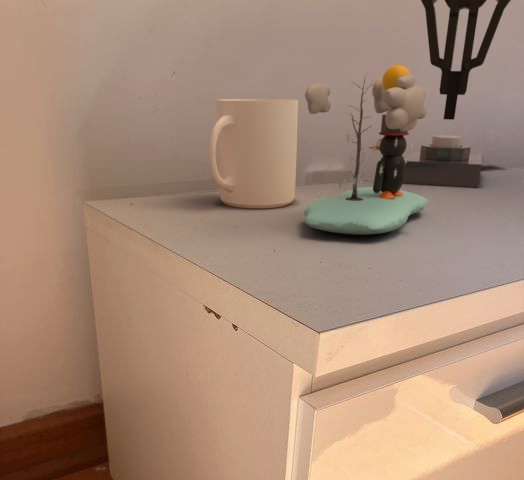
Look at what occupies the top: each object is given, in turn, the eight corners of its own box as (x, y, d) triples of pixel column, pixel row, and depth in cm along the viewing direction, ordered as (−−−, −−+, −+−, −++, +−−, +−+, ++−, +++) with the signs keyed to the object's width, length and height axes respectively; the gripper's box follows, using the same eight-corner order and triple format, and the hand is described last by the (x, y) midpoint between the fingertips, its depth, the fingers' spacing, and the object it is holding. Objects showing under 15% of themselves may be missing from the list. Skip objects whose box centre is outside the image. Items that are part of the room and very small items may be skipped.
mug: (307, 199, 73) (311, 100, 68) (261, 216, 63) (262, 102, 58) (244, 192, 77) (243, 98, 72) (192, 207, 68) (187, 100, 63)
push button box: (478, 175, 94) (483, 143, 92) (478, 187, 83) (484, 151, 81) (410, 171, 97) (413, 140, 95) (401, 183, 86) (405, 148, 84)
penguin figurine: (355, 201, 72) (366, 67, 65) (440, 211, 67) (461, 67, 60) (278, 233, 56) (282, 61, 50) (381, 249, 51) (400, 60, 45)
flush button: (460, 147, 89) (462, 135, 88) (460, 150, 85) (461, 138, 85) (431, 146, 90) (433, 134, 90) (429, 149, 87) (431, 137, 86)
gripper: (423, -75, 75) (402, 118, 85) (530, -82, 71) (495, 121, 81) (427, -62, 81) (407, 116, 91) (526, -68, 77) (494, 119, 87)
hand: (449, 118), depth 86 cm, fingers closed
